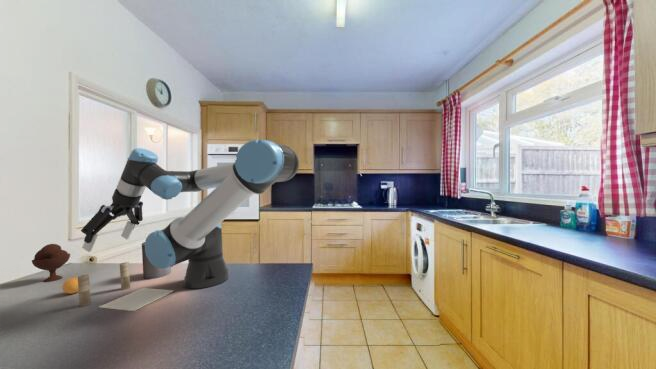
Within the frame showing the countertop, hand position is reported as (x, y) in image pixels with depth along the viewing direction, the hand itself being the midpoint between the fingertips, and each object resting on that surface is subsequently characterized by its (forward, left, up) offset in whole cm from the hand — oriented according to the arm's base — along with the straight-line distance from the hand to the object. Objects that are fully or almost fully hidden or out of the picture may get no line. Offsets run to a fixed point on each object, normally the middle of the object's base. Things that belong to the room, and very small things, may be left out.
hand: (107, 243), depth 92 cm
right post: (-4, -3, -17) cm, 18 cm away
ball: (+12, +3, -14) cm, 19 cm away
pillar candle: (-3, -17, -17) cm, 24 cm away
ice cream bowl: (+40, -6, -17) cm, 44 cm away
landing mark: (-18, +3, -17) cm, 25 cm away
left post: (-4, +10, -17) cm, 20 cm away
